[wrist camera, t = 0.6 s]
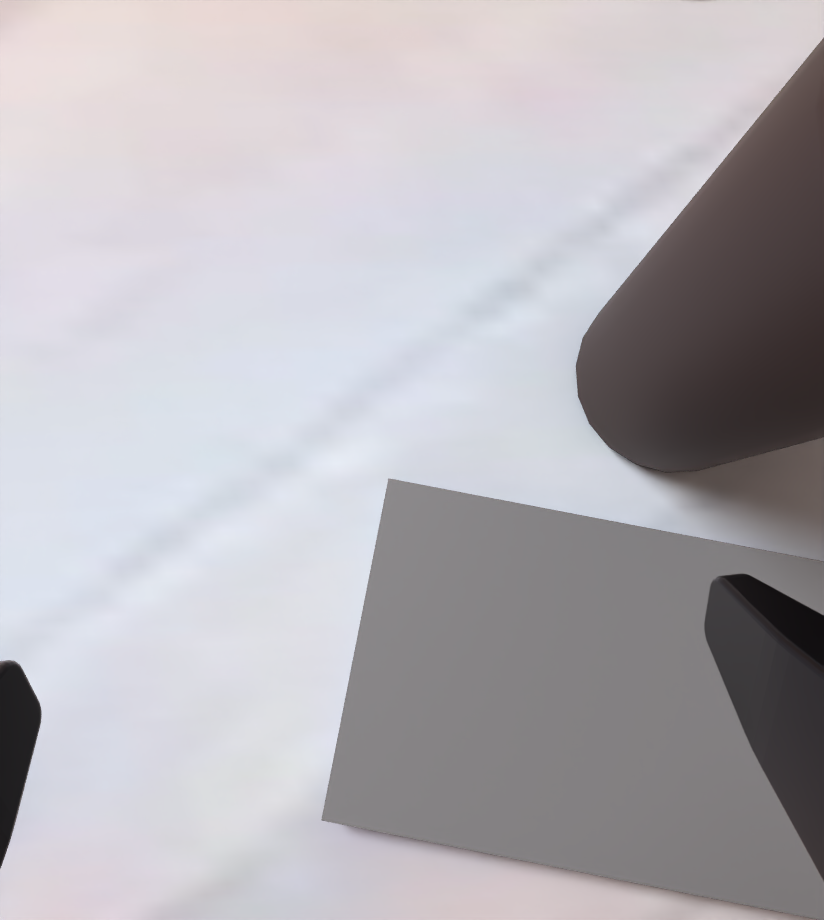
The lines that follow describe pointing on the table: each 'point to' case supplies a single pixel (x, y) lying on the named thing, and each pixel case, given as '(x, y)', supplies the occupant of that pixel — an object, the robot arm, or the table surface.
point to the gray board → (562, 700)
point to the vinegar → (724, 307)
